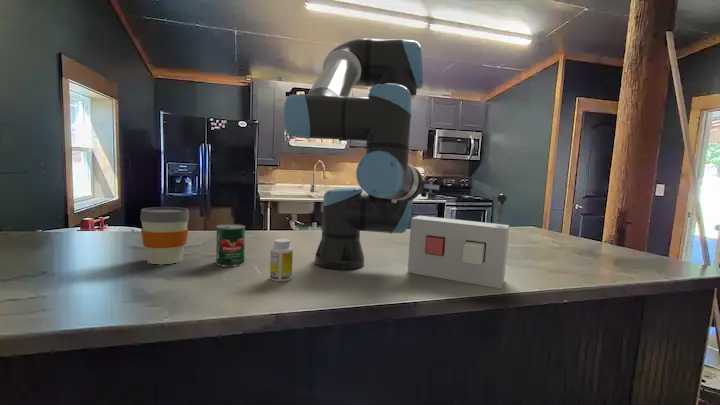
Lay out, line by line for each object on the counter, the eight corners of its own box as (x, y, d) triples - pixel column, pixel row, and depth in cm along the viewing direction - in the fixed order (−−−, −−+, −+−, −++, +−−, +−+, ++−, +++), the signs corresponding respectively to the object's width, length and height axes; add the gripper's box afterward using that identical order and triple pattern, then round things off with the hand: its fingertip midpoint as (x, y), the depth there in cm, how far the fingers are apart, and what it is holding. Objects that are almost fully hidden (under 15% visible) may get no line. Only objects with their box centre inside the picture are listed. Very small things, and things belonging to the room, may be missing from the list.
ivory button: (462, 261, 101) (463, 244, 101) (466, 257, 107) (467, 241, 106) (480, 264, 99) (482, 247, 99) (483, 259, 105) (485, 243, 104)
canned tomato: (233, 258, 118) (234, 223, 117) (250, 263, 114) (250, 226, 113) (210, 263, 112) (210, 225, 111) (226, 268, 107) (227, 229, 106)
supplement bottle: (293, 276, 103) (294, 238, 102) (289, 282, 98) (290, 243, 97) (272, 275, 103) (273, 237, 102) (267, 281, 98) (268, 241, 97)
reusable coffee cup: (159, 254, 118) (159, 205, 117) (197, 257, 117) (198, 208, 115) (129, 264, 106) (129, 210, 105) (171, 268, 104) (172, 213, 103)
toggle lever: (493, 221, 105) (497, 192, 107) (493, 224, 107) (497, 195, 110) (503, 222, 104) (507, 193, 106) (503, 225, 106) (507, 196, 109)
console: (407, 272, 113) (411, 218, 112) (415, 266, 120) (419, 215, 119) (501, 288, 102) (506, 228, 101) (504, 280, 109) (509, 225, 108)
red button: (425, 253, 109) (426, 237, 109) (431, 249, 115) (432, 234, 114) (441, 255, 107) (442, 239, 107) (446, 251, 113) (447, 235, 112)
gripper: (367, 196, 79) (399, 201, 101) (430, 204, 74) (449, 207, 96) (372, 160, 79) (402, 173, 101) (435, 165, 74) (453, 177, 96)
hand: (425, 190), depth 99 cm, fingers closed
